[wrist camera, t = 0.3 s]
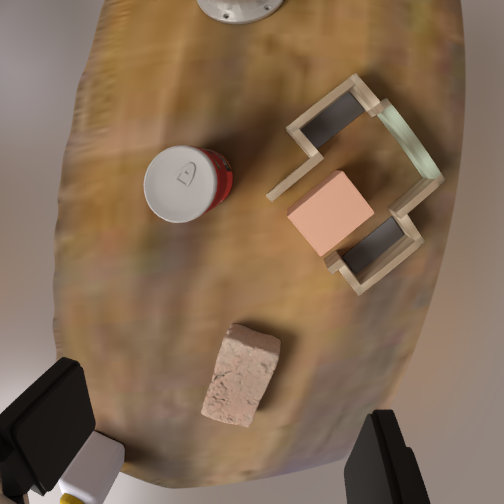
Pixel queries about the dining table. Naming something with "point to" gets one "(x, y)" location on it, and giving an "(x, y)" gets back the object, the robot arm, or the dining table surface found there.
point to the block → (329, 212)
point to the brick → (241, 375)
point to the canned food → (186, 182)
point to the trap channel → (389, 234)
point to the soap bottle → (92, 471)
